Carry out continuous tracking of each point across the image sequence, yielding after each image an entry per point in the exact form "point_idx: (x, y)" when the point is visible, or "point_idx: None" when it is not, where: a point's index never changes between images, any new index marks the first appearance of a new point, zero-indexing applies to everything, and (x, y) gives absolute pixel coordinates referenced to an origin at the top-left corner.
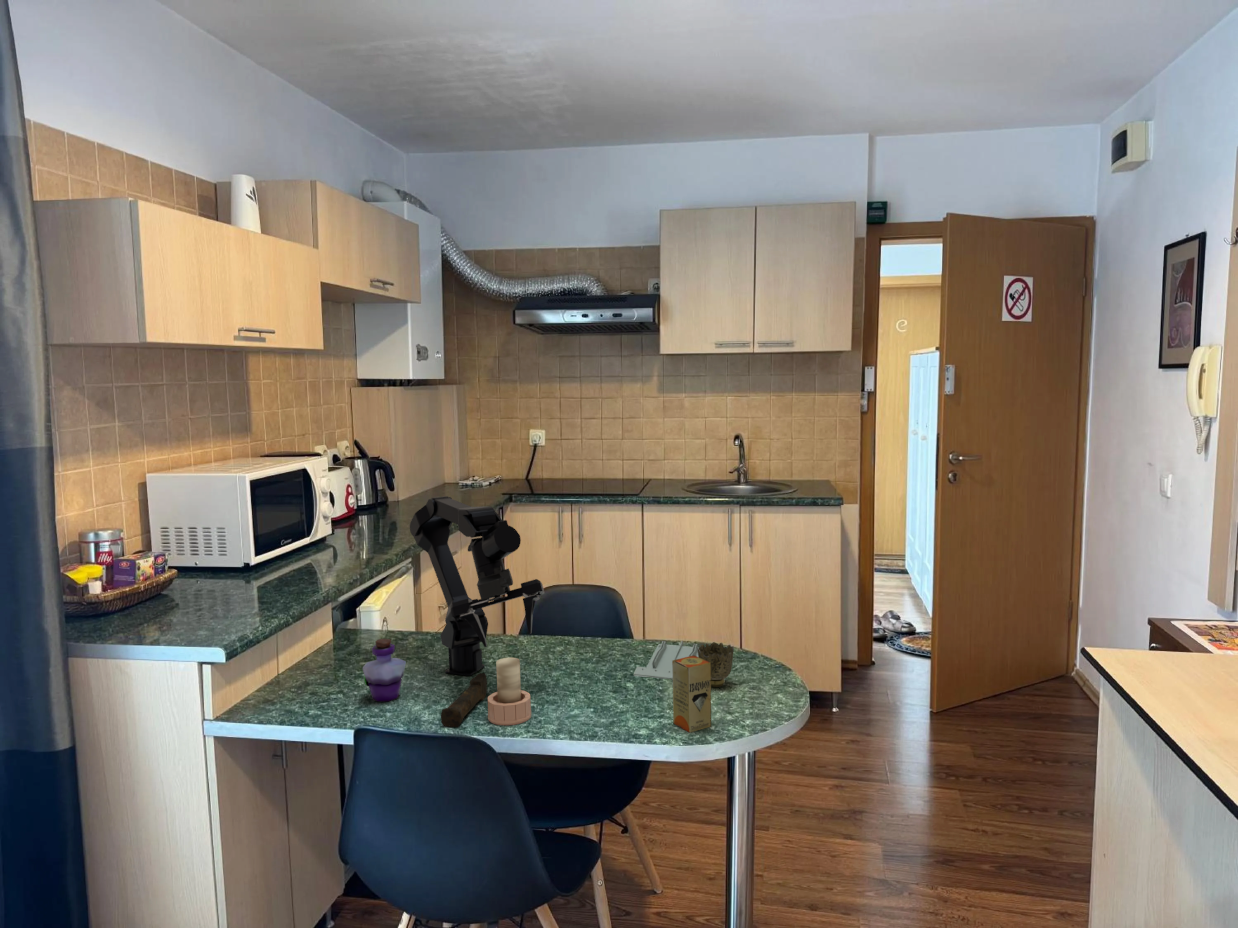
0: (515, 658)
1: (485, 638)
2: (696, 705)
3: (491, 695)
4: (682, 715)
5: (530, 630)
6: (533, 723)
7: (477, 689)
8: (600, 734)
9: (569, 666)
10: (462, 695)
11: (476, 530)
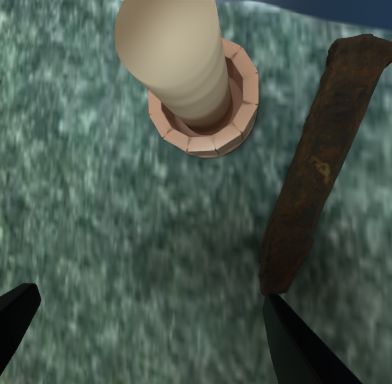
0: (131, 66)
1: (274, 360)
2: None
3: (247, 113)
4: None
5: (11, 291)
6: None
7: (287, 198)
8: (56, 10)
9: (84, 364)
10: (334, 151)
11: None
